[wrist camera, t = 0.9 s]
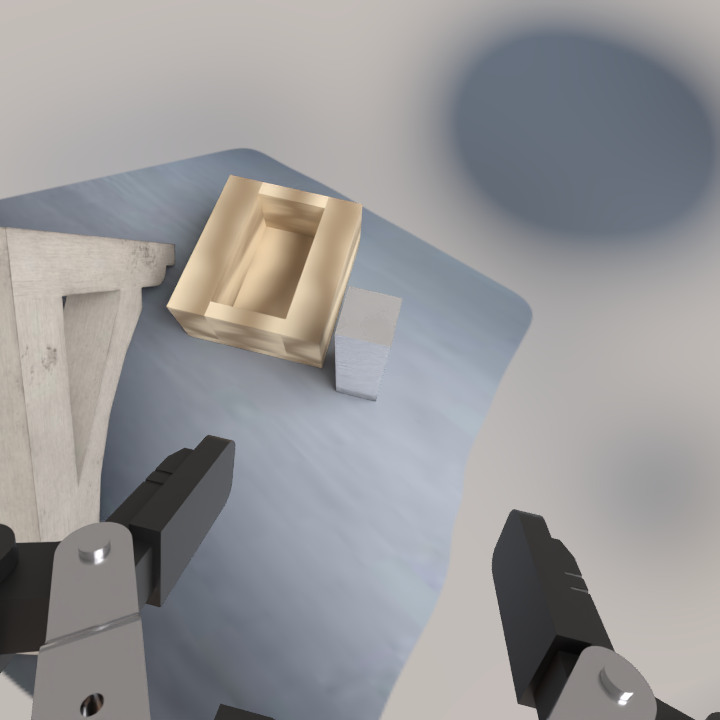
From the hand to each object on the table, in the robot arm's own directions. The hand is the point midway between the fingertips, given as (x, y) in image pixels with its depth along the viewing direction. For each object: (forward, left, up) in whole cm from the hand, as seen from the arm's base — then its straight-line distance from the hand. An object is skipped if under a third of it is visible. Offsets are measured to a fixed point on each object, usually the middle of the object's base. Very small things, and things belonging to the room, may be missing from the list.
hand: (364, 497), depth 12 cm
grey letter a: (-24, +4, -27) cm, 36 cm away
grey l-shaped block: (-2, +16, -27) cm, 31 cm away
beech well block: (-13, +21, -27) cm, 36 cm away
